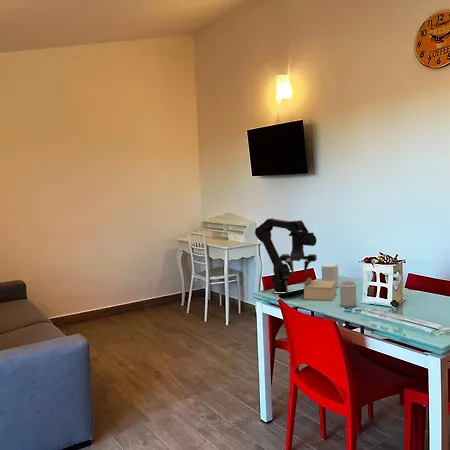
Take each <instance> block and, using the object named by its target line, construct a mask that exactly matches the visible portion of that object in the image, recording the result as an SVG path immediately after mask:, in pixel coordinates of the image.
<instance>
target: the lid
mask: <svg viewBox="0 0 450 450" xmlns="http://www.w3.org/2000/svg"><path fill="white" fill-rule="evenodd" d="M335 283H336V281H322V280H315V279H314V280H312V277H308V278H307V279H306V280H305V281H304V284H303V289H304V288H312V289H332V288H333V287H334V285H335Z"/></svg>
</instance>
